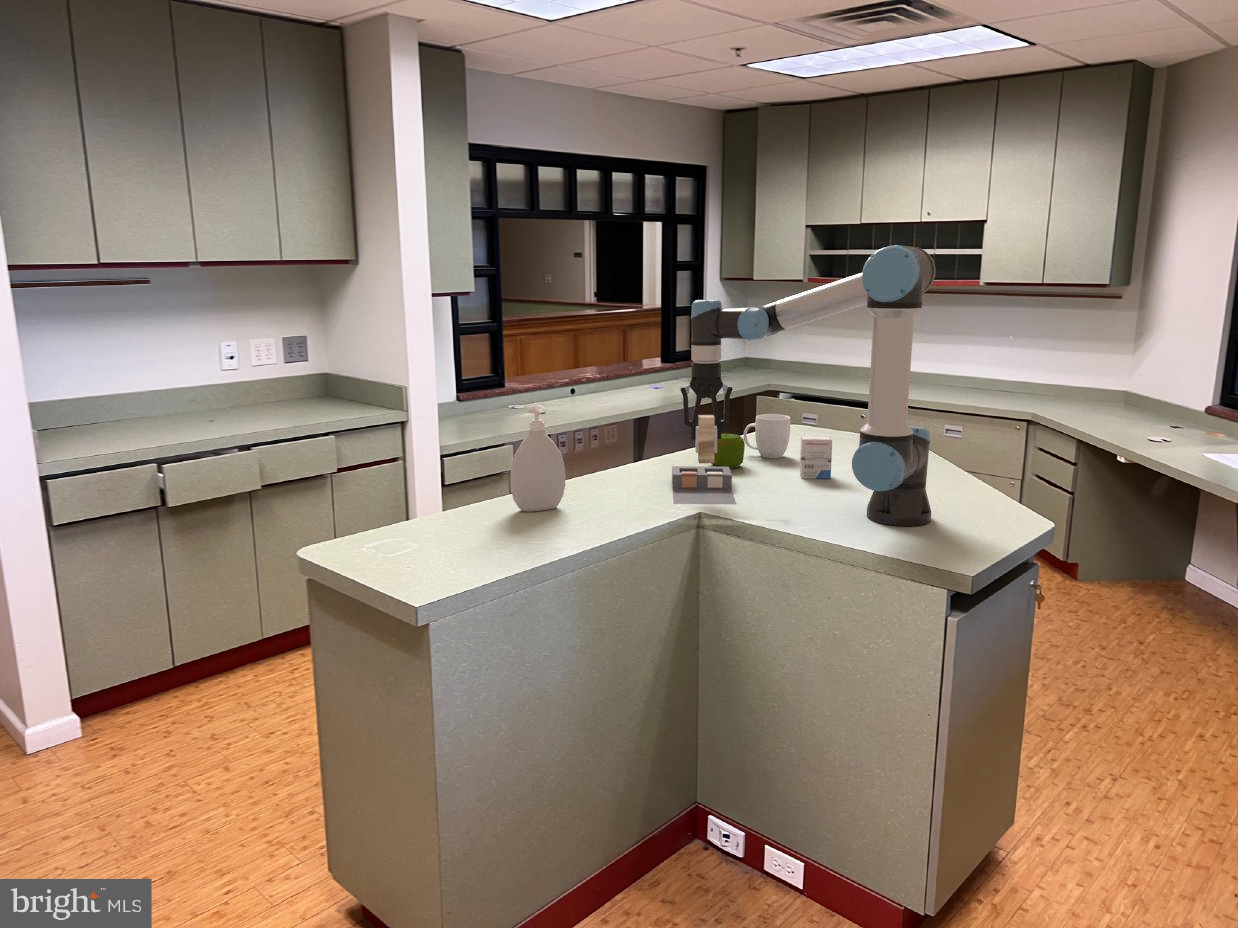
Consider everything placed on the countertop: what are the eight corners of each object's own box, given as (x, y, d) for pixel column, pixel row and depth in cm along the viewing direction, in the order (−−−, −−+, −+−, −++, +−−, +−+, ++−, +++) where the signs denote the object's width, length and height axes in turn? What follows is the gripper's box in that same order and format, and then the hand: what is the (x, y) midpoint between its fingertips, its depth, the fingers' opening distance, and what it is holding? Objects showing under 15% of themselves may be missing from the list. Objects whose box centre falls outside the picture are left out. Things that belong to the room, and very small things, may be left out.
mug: (739, 457, 283) (740, 417, 280) (746, 451, 293) (747, 412, 290) (785, 461, 278) (787, 420, 275) (791, 454, 288) (793, 415, 285)
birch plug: (714, 463, 227) (714, 417, 224) (698, 463, 227) (698, 417, 224) (713, 460, 231) (713, 414, 228) (698, 460, 231) (698, 415, 228)
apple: (745, 463, 275) (747, 429, 272) (741, 471, 264) (742, 435, 262) (710, 461, 278) (711, 427, 275) (704, 469, 267) (705, 434, 265)
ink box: (828, 475, 259) (830, 436, 257) (830, 479, 255) (832, 439, 252) (798, 474, 260) (800, 435, 258) (800, 478, 255) (802, 439, 253)
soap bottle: (517, 517, 217) (514, 409, 211) (507, 509, 224) (504, 404, 218) (572, 510, 223) (570, 405, 217) (561, 502, 230) (559, 400, 224)
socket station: (736, 508, 224) (737, 487, 223) (673, 507, 225) (673, 487, 224) (728, 483, 250) (728, 464, 248) (671, 483, 250) (671, 464, 249)
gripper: (738, 359, 227) (737, 448, 231) (672, 360, 227) (672, 449, 232) (741, 362, 219) (740, 454, 224) (672, 363, 220) (673, 455, 225)
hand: (706, 451), depth 228 cm, fingers closed on birch plug, 4 cm apart
